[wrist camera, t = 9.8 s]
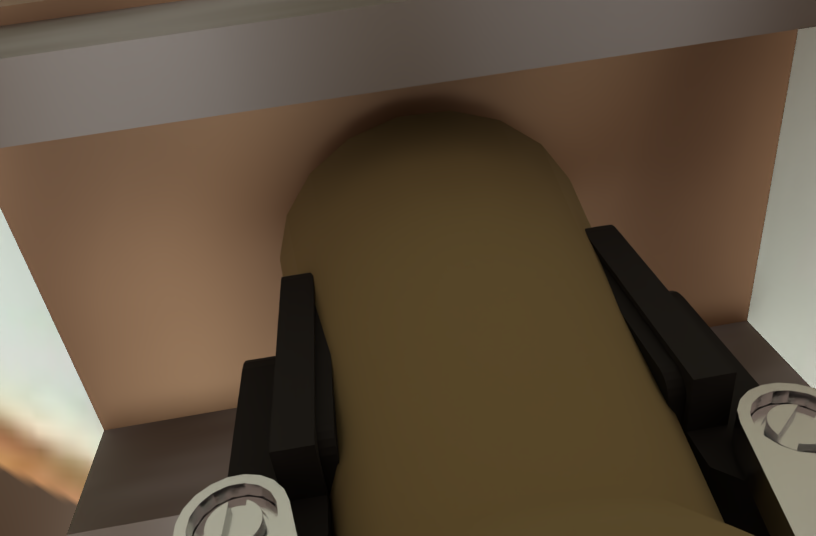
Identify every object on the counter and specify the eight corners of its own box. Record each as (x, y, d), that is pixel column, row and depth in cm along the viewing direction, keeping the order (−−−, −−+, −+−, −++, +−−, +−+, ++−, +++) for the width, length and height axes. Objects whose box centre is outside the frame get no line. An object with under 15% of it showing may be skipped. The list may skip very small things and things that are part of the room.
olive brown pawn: (389, 420, 16) (507, 1261, 6) (213, 227, 13) (-65, 1266, 3) (627, 287, 15) (1207, 1063, 5) (495, 42, 12) (1284, 803, 2)
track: (788, -110, 13) (957, -101, 10) (719, 344, 19) (810, 450, 15) (-61, 8, 12) (-201, 63, 9) (133, 445, 18) (92, 580, 15)
